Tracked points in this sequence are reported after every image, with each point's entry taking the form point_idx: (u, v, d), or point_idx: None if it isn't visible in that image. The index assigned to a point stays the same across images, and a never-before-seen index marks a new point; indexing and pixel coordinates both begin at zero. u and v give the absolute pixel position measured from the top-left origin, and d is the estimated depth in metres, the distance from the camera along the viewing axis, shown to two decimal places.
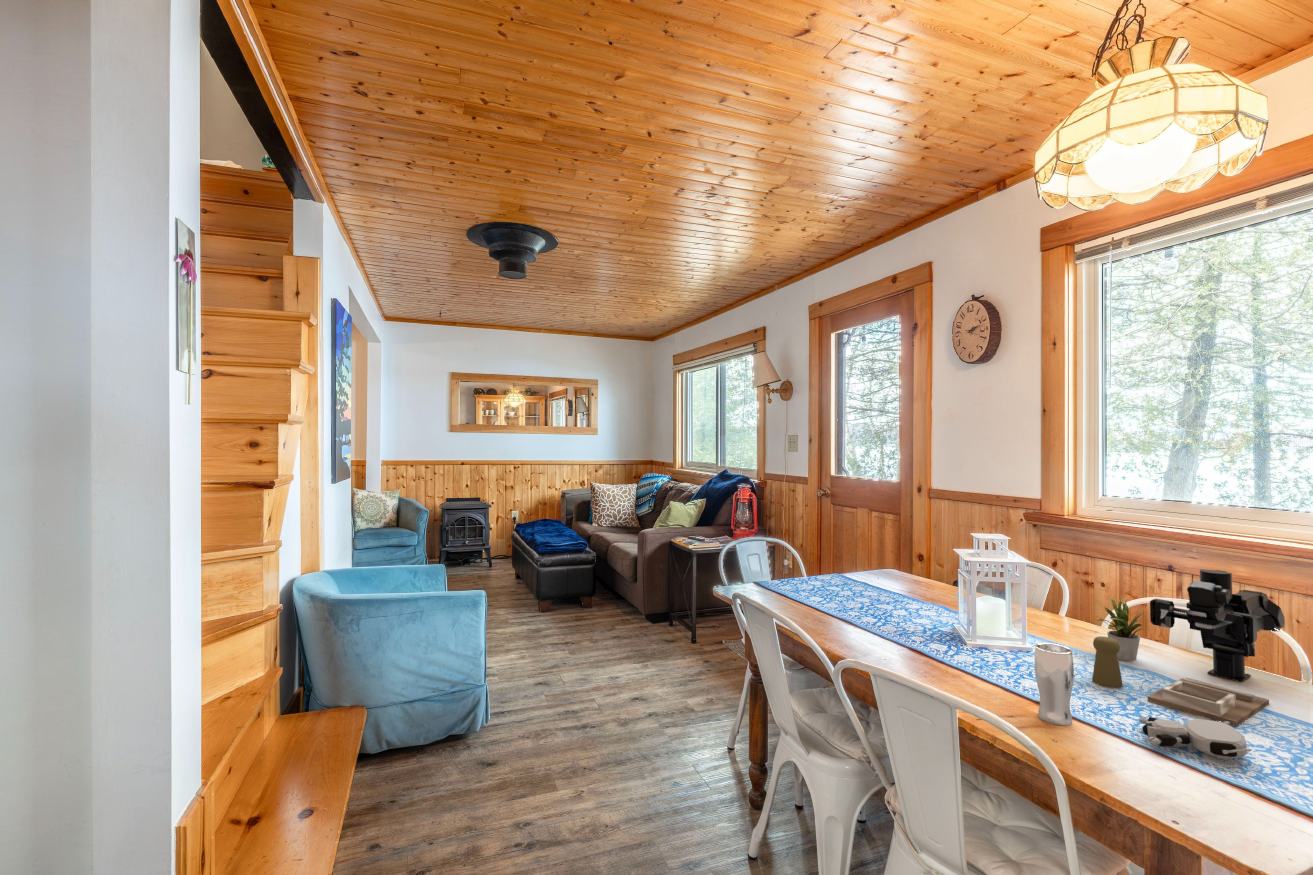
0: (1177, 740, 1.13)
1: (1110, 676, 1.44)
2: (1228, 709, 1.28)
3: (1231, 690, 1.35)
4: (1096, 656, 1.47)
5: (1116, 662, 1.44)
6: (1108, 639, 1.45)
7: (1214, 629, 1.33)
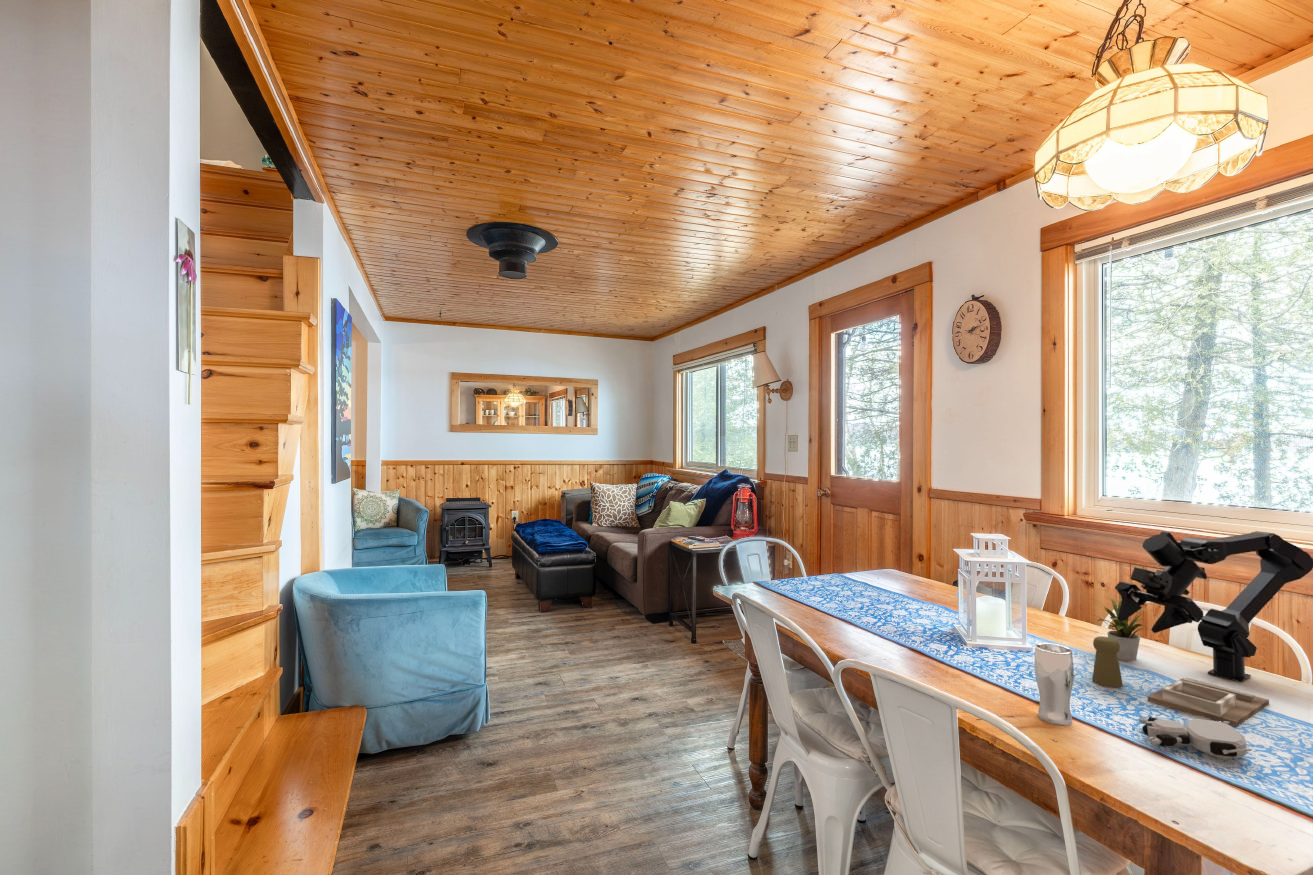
0: (1177, 740, 1.13)
1: (1110, 676, 1.44)
2: (1228, 709, 1.28)
3: (1231, 690, 1.35)
4: (1096, 656, 1.47)
5: (1116, 662, 1.44)
6: (1108, 639, 1.45)
7: (1153, 629, 1.42)
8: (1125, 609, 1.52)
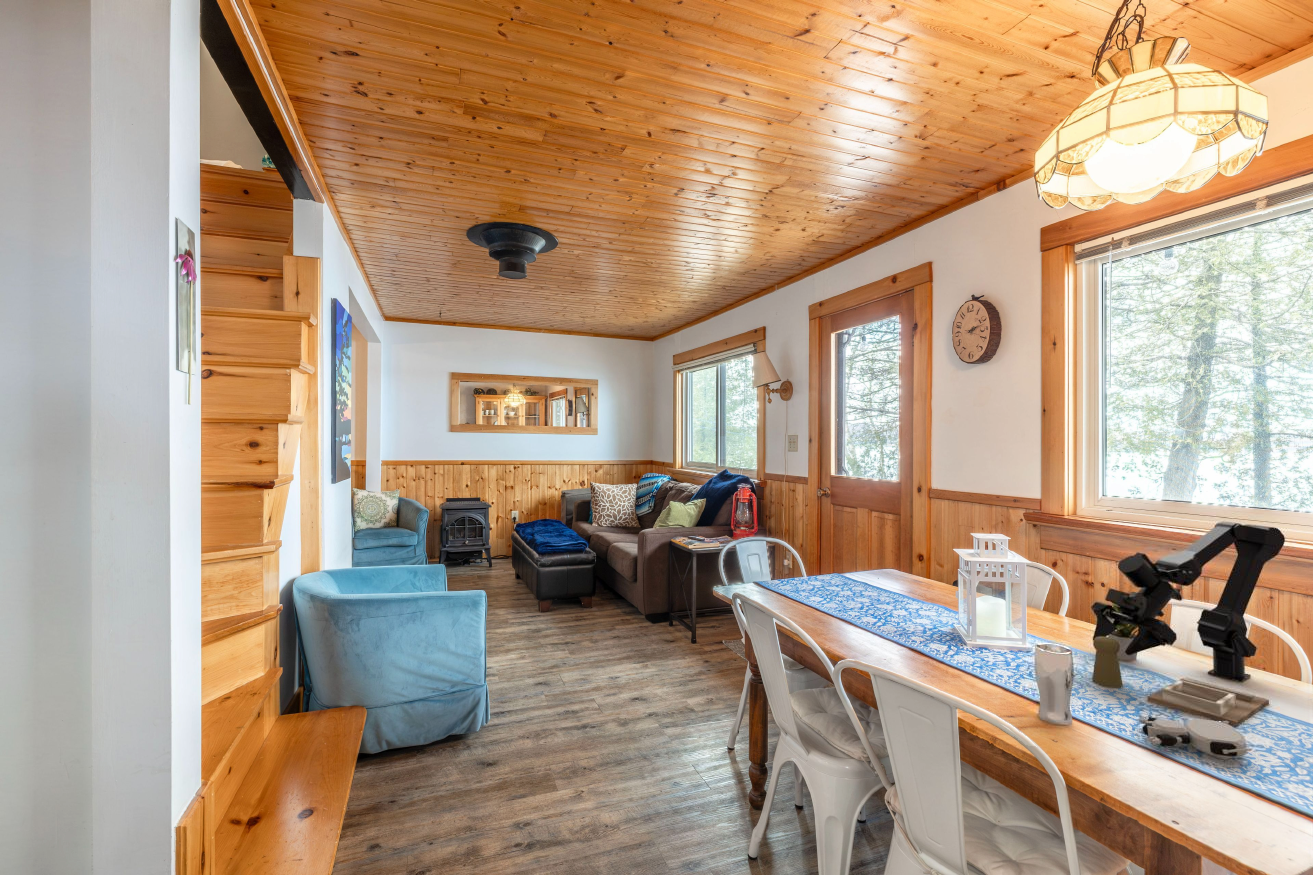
0: (1177, 740, 1.13)
1: (1110, 676, 1.44)
2: (1228, 709, 1.28)
3: (1231, 690, 1.35)
4: (1096, 656, 1.47)
5: (1116, 662, 1.44)
6: (1108, 639, 1.45)
7: (1127, 652, 1.41)
8: (1100, 630, 1.51)
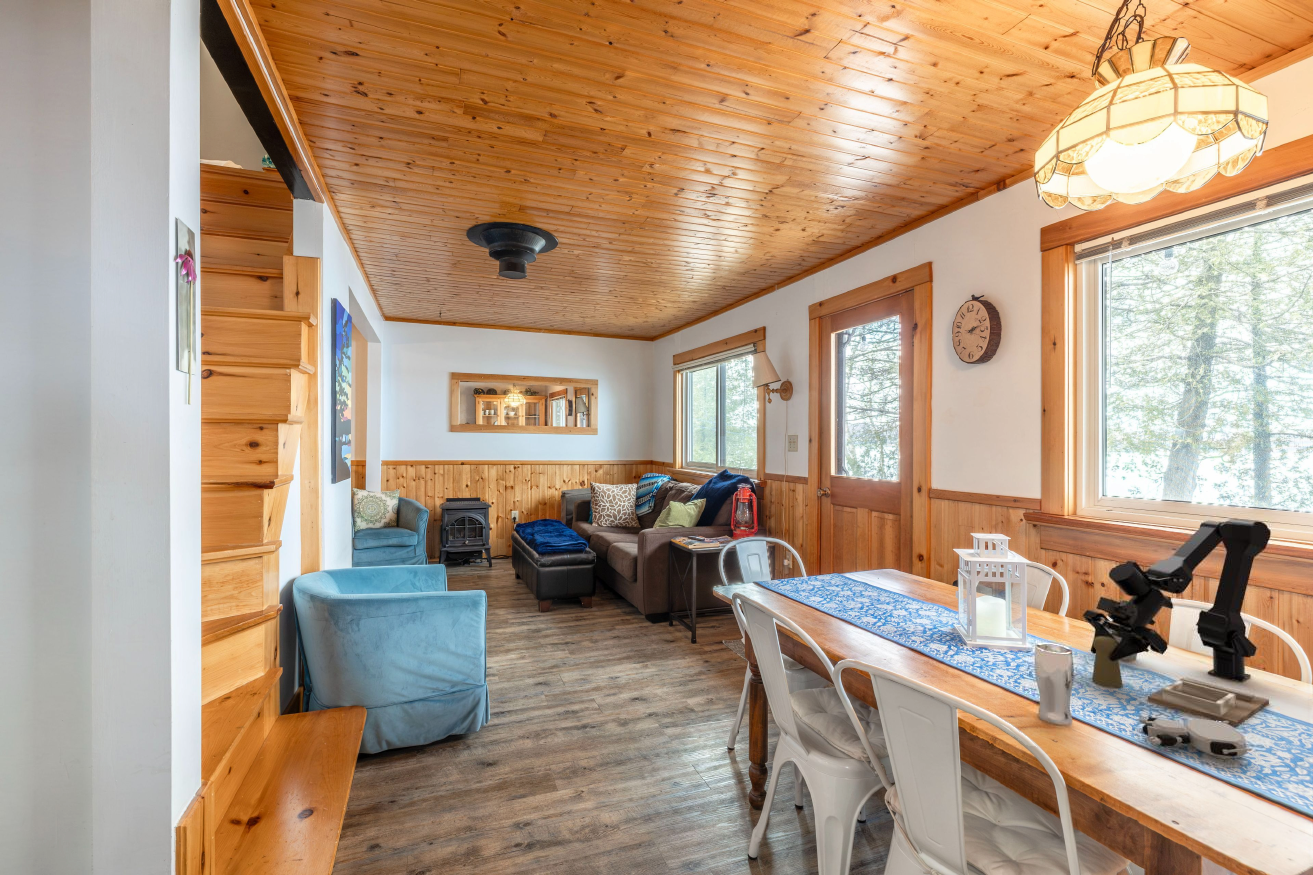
0: (1177, 740, 1.13)
1: (1109, 676, 1.44)
2: (1228, 709, 1.28)
3: (1231, 690, 1.35)
4: (1096, 656, 1.47)
5: (1116, 662, 1.44)
6: (1108, 639, 1.45)
7: (1111, 658, 1.43)
8: None
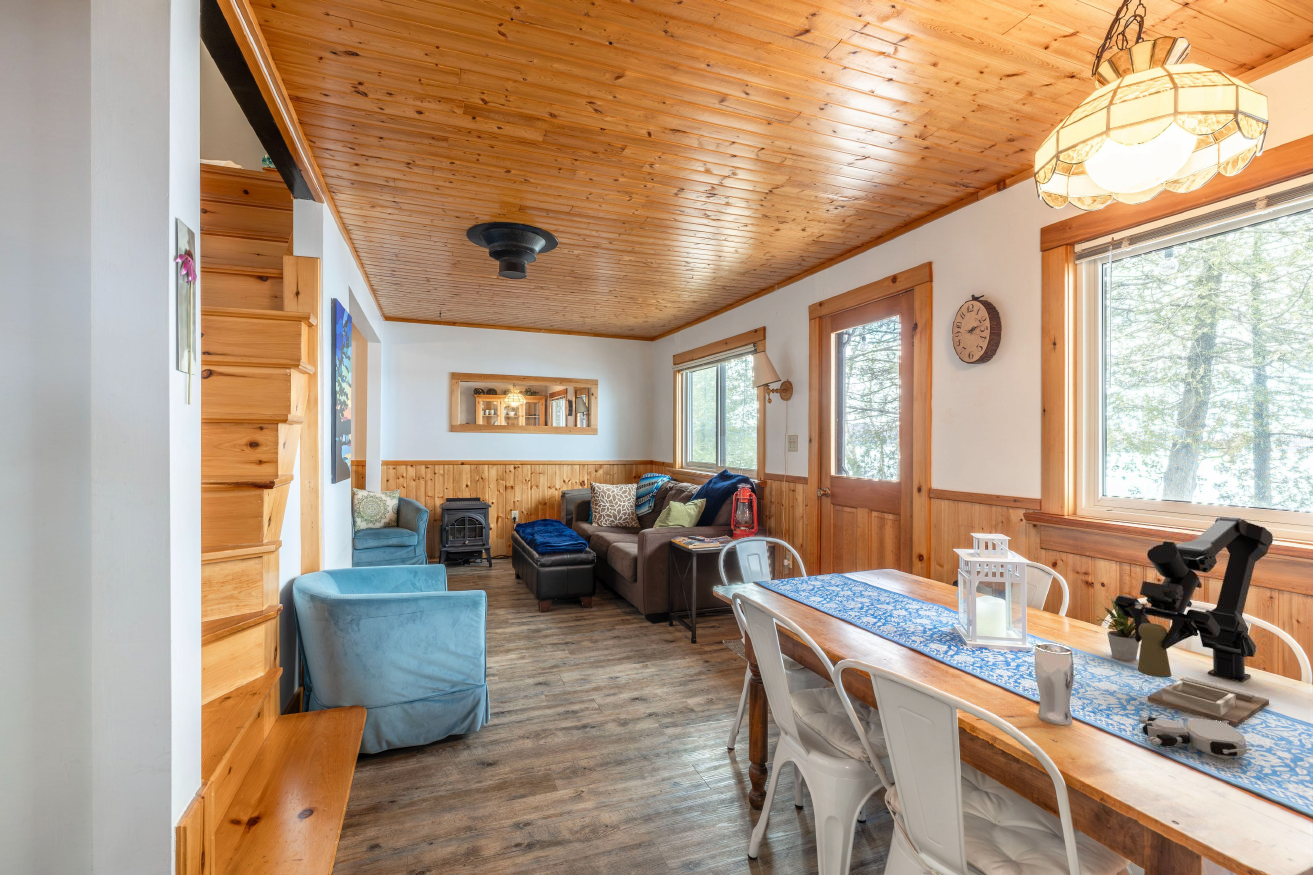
0: (1177, 740, 1.13)
1: (1161, 665, 1.35)
2: (1228, 709, 1.28)
3: (1231, 690, 1.35)
4: (1144, 645, 1.38)
5: (1165, 649, 1.36)
6: (1157, 626, 1.37)
7: (1164, 646, 1.35)
8: None
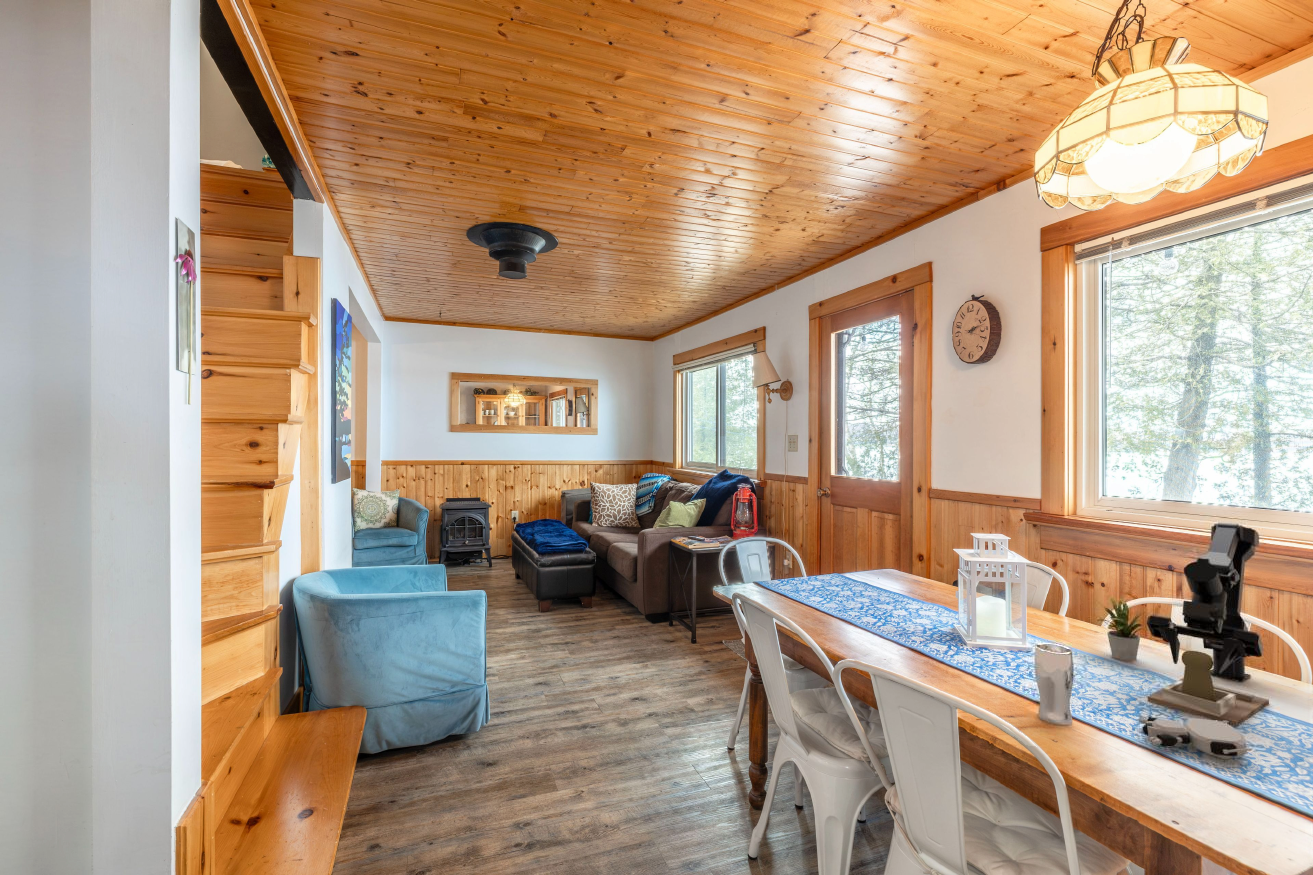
0: (1177, 740, 1.13)
1: (1210, 695, 1.29)
2: (1228, 709, 1.28)
3: (1231, 690, 1.35)
4: (1190, 675, 1.32)
5: (1211, 678, 1.31)
6: (1202, 654, 1.31)
7: (1219, 670, 1.28)
8: (1176, 649, 1.35)
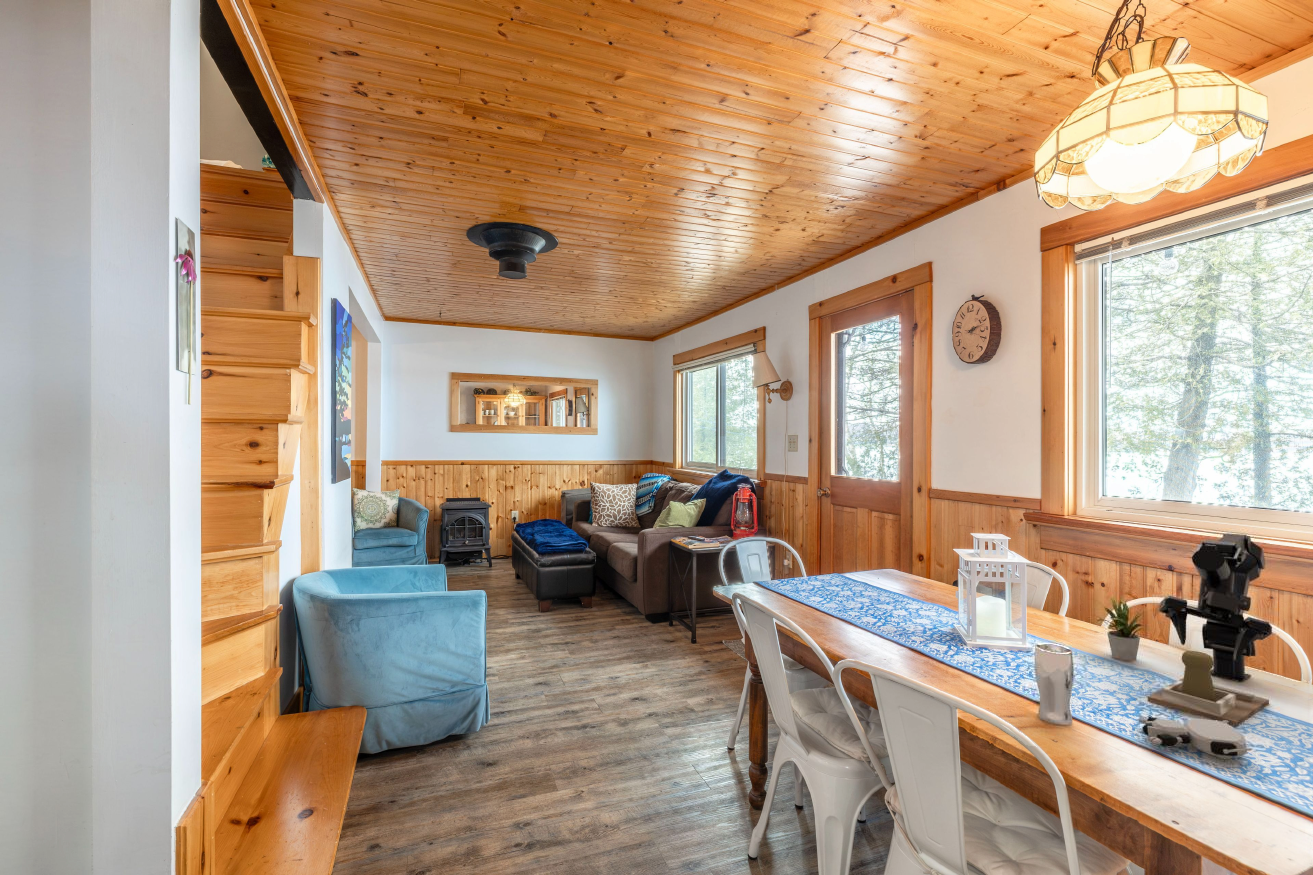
0: (1178, 740, 1.13)
1: (1210, 695, 1.29)
2: (1228, 709, 1.28)
3: (1231, 690, 1.35)
4: (1190, 675, 1.32)
5: (1211, 678, 1.31)
6: (1203, 654, 1.31)
7: (1237, 658, 1.35)
8: None
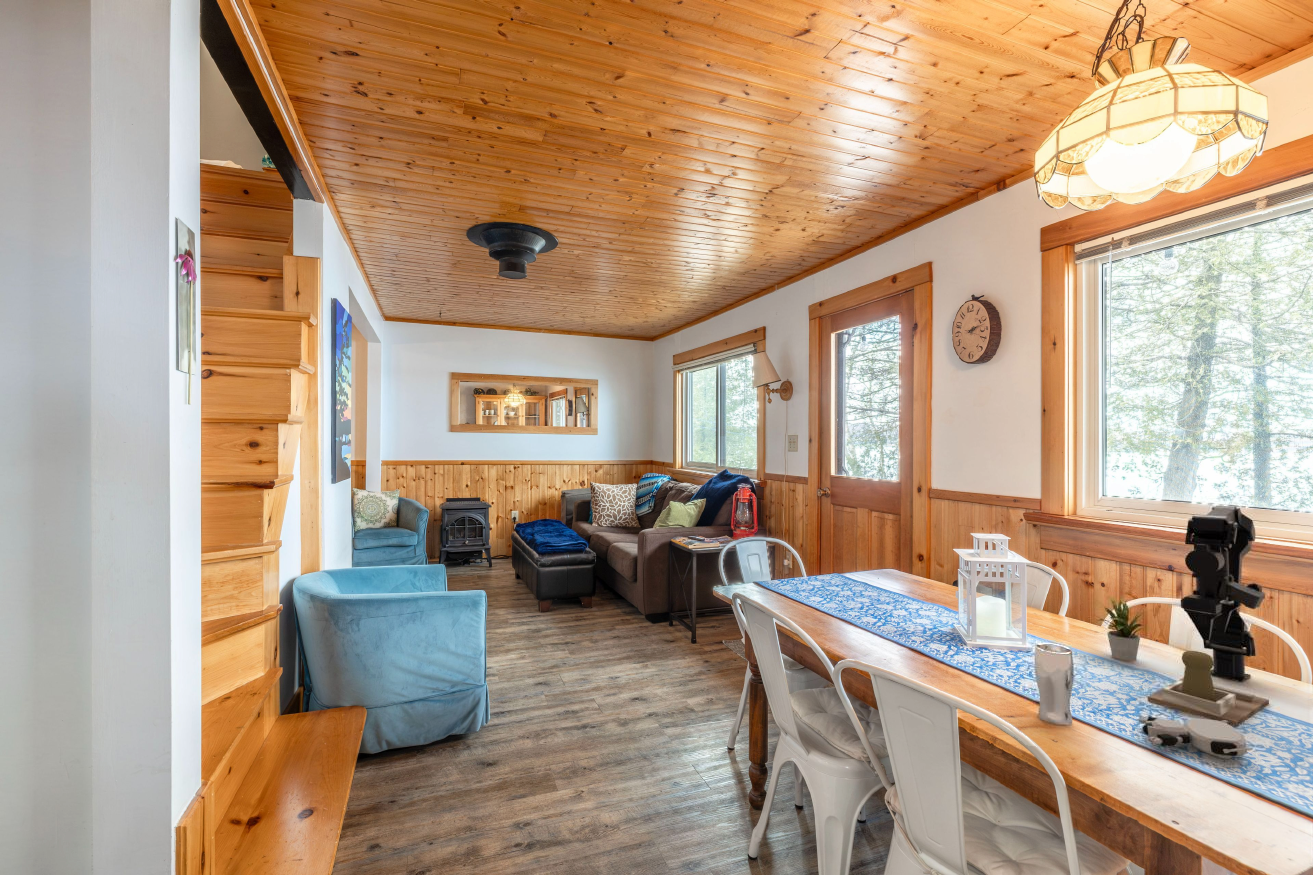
0: (1178, 740, 1.13)
1: (1210, 695, 1.29)
2: (1228, 709, 1.28)
3: (1231, 690, 1.35)
4: (1190, 675, 1.32)
5: (1211, 678, 1.31)
6: (1203, 654, 1.31)
7: None
8: None
